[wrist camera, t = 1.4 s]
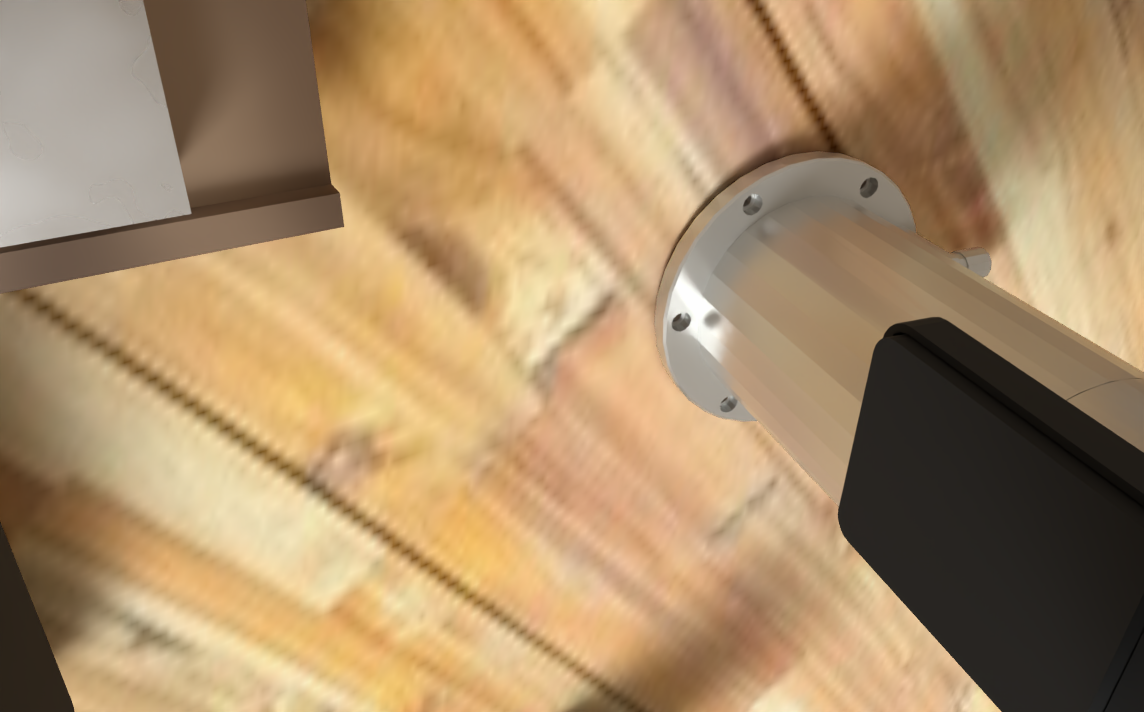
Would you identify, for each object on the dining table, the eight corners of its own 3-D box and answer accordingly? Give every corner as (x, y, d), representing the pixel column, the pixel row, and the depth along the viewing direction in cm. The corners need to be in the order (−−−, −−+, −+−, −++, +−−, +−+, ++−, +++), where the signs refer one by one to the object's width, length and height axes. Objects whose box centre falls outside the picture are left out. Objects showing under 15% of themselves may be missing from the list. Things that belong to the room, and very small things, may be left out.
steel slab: (110, -84, 20) (127, -69, 18) (171, 173, 23) (191, 213, 21) (-224, -70, 18) (-252, -50, 15) (-105, 216, 21) (-115, 267, 19)
